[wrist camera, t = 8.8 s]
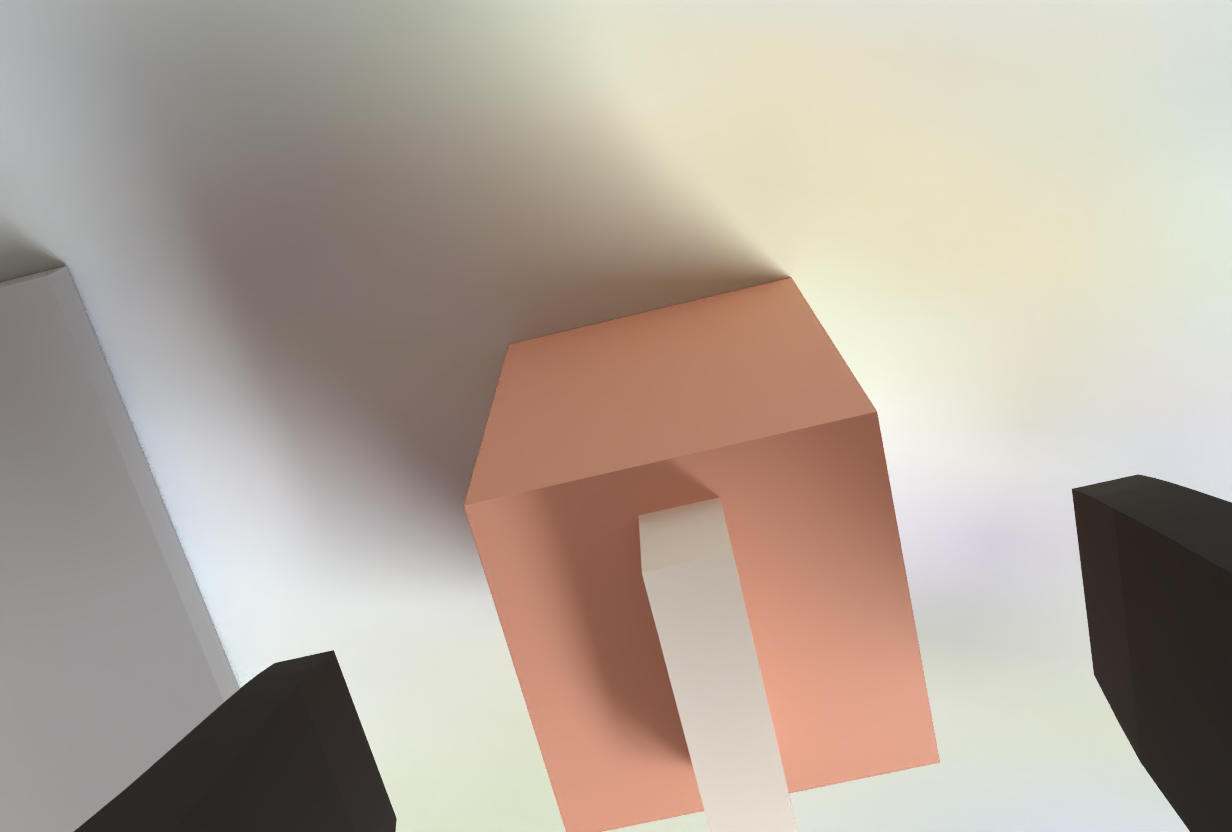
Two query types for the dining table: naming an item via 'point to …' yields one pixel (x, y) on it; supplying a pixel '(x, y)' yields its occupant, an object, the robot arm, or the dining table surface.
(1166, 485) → the robot arm
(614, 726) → the pink block
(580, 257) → the dining table surface
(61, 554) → the jig
